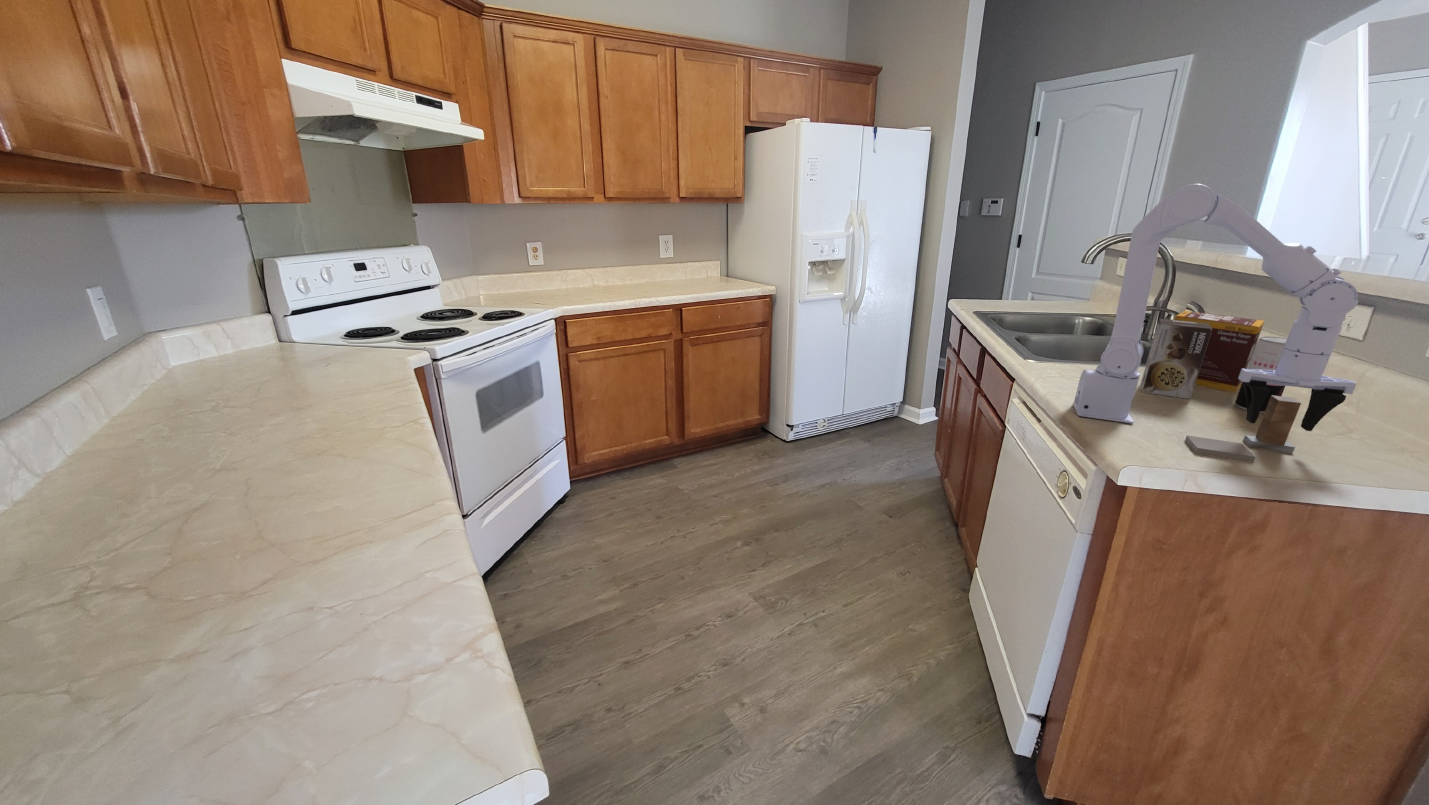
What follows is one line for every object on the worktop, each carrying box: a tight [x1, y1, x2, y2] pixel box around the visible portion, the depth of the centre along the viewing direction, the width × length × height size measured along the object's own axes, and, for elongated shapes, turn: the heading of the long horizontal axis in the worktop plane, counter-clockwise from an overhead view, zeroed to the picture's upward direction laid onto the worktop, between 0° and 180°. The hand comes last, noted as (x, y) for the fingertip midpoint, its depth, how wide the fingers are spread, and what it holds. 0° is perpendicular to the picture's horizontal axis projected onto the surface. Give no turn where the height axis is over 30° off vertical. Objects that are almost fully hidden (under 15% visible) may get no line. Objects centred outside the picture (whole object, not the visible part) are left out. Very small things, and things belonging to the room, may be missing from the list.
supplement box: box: [1173, 310, 1265, 393], centre depth 137 cm, size 10×15×16 cm
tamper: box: [1242, 395, 1302, 454], centre depth 101 cm, size 6×3×9 cm, turn 66°
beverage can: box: [1234, 335, 1288, 414], centre depth 119 cm, size 6×6×15 cm
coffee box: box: [1139, 318, 1212, 400], centre depth 128 cm, size 9×6×16 cm
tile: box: [1184, 435, 1256, 463], centre depth 100 cm, size 8×2×6 cm
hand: (1277, 425), depth 101 cm, fingers open, 7 cm apart
